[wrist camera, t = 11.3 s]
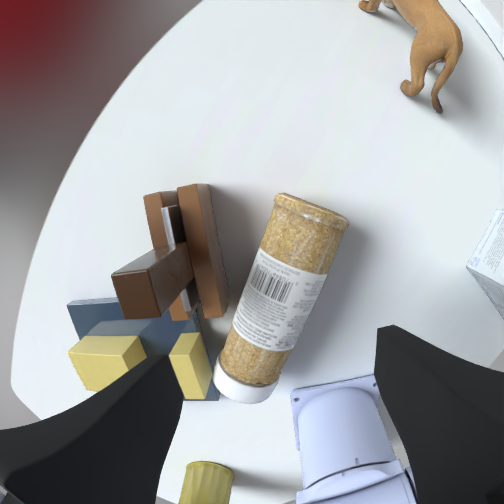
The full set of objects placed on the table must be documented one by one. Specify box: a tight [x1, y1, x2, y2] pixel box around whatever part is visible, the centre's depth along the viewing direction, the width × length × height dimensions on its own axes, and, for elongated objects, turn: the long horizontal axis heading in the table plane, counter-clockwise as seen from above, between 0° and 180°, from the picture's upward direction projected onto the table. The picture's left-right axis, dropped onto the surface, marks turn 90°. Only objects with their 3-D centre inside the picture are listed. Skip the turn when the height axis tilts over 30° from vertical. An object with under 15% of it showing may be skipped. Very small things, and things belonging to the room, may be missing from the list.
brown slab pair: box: [143, 184, 230, 321], centre depth 17 cm, size 8×3×3 cm, turn 10°
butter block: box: [67, 336, 147, 392], centre depth 19 cm, size 4×6×3 cm, turn 100°
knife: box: [111, 204, 199, 320], centre depth 14 cm, size 6×2×9 cm, turn 9°
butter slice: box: [169, 332, 212, 399], centre depth 18 cm, size 4×2×3 cm, turn 9°
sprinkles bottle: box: [213, 193, 349, 404], centre depth 17 cm, size 5×5×13 cm
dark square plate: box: [67, 297, 220, 401], centre depth 20 cm, size 10×12×1 cm
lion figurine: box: [359, 0, 463, 114], centre depth 9 cm, size 15×5×9 cm, turn 25°
